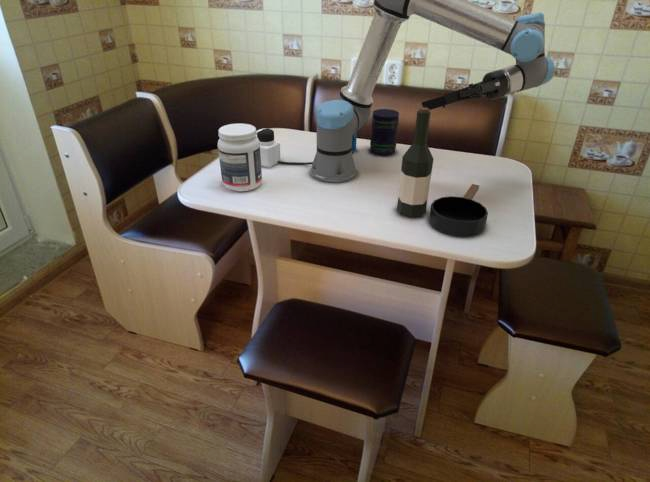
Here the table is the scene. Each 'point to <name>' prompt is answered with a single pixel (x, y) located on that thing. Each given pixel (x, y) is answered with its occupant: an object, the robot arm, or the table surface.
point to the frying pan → (459, 214)
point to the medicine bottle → (268, 148)
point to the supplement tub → (239, 157)
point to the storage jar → (384, 132)
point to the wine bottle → (416, 171)
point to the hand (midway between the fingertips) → (433, 103)
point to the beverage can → (354, 141)
